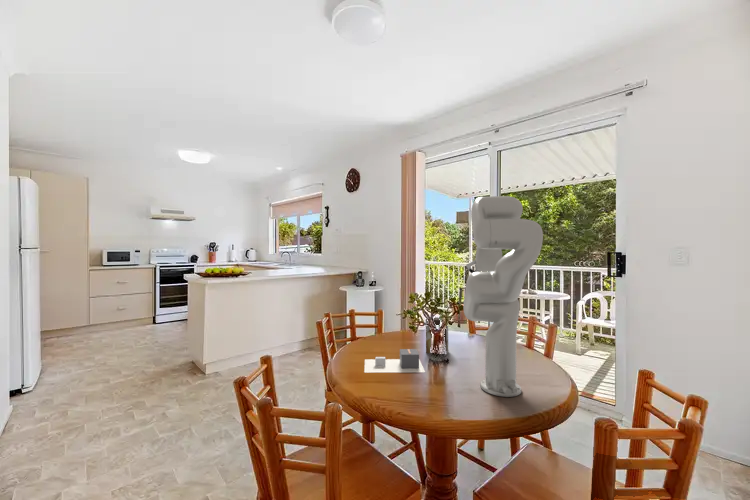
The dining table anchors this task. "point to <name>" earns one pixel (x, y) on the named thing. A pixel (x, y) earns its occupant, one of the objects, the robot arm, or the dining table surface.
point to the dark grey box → (409, 359)
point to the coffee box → (429, 336)
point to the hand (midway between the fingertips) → (488, 285)
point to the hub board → (387, 366)
